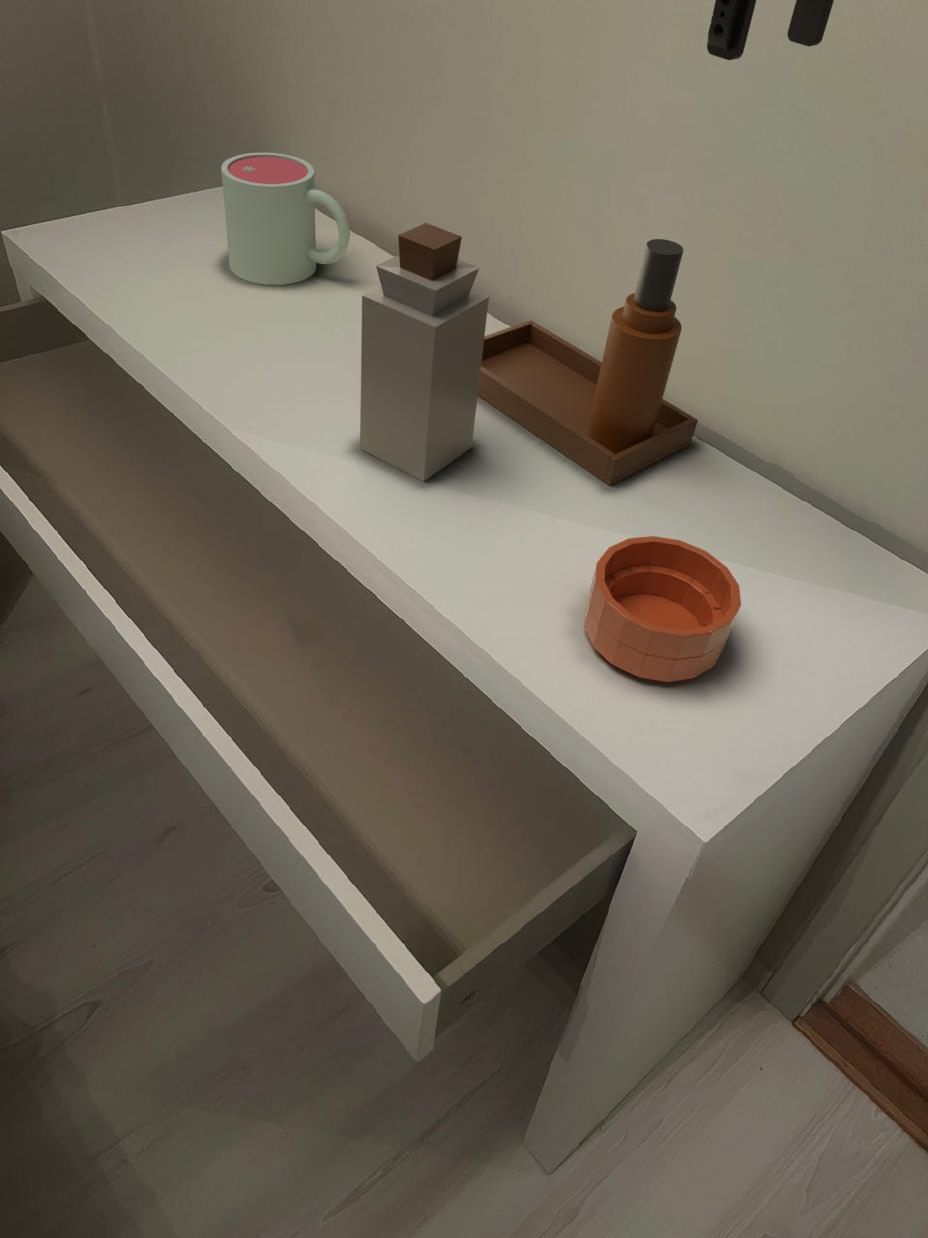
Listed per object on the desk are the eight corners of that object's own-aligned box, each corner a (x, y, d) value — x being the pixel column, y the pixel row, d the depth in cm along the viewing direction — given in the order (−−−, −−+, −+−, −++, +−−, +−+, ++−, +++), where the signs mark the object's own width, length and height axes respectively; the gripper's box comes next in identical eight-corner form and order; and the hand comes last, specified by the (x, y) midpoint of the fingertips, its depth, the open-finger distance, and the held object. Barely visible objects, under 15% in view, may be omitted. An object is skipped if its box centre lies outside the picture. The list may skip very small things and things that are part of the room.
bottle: (649, 426, 83) (700, 237, 72) (649, 461, 79) (703, 267, 68) (588, 416, 84) (628, 226, 72) (585, 450, 80) (627, 256, 68)
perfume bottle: (409, 416, 82) (421, 208, 69) (471, 446, 80) (495, 237, 67) (359, 448, 78) (363, 234, 65) (423, 481, 75) (439, 265, 63)
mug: (212, 270, 98) (202, 172, 92) (259, 240, 105) (253, 145, 98) (327, 304, 96) (326, 204, 89) (368, 270, 102) (370, 175, 95)
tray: (690, 444, 83) (698, 419, 81) (609, 485, 77) (615, 459, 76) (527, 343, 93) (530, 319, 92) (445, 373, 88) (447, 348, 86)
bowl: (715, 600, 68) (735, 548, 65) (722, 698, 61) (745, 646, 58) (586, 579, 69) (599, 526, 65) (579, 674, 62) (593, 620, 58)
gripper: (850, -330, 41) (745, 79, 53) (996, -301, 49) (876, 53, 60) (715, -337, 45) (645, 46, 56) (869, -309, 52) (780, 25, 64)
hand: (764, 49), depth 58 cm, fingers open, 8 cm apart
